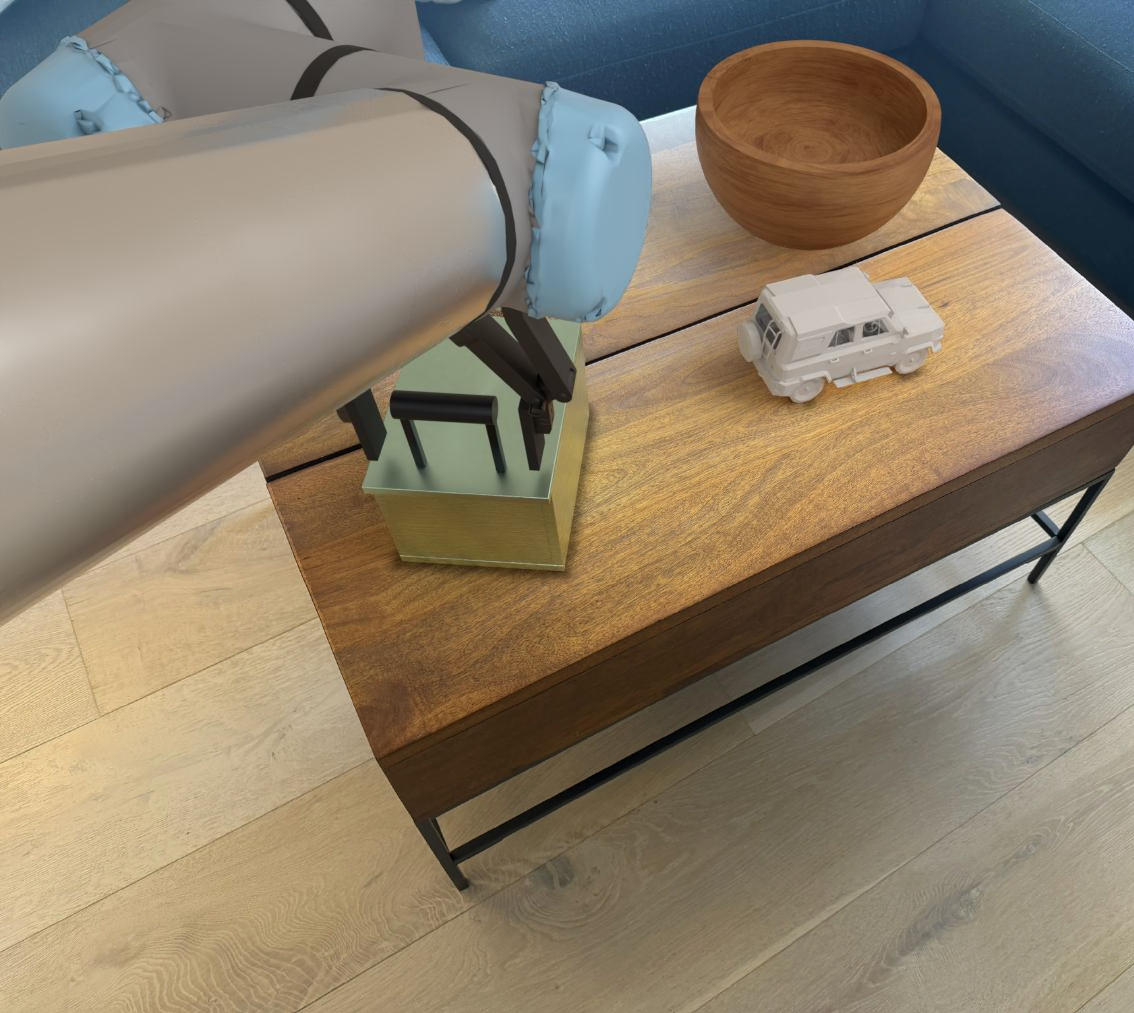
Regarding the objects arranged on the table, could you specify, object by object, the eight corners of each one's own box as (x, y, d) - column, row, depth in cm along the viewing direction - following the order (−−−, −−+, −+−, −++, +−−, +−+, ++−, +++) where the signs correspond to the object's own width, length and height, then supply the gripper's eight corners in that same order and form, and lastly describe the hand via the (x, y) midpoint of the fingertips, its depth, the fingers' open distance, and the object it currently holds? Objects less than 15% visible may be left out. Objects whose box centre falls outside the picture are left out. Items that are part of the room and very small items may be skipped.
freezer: (564, 571, 75) (551, 494, 66) (401, 561, 76) (367, 483, 67) (589, 413, 86) (581, 328, 77) (446, 405, 86) (422, 319, 77)
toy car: (947, 372, 90) (976, 294, 81) (764, 424, 85) (775, 347, 77) (897, 307, 95) (920, 228, 87) (723, 352, 91) (730, 274, 83)
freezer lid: (549, 505, 66) (537, 431, 59) (364, 493, 66) (330, 419, 59) (581, 328, 77) (574, 248, 70) (422, 319, 77) (399, 239, 70)
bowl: (675, 170, 109) (677, 46, 97) (873, 154, 111) (900, 31, 99) (713, 309, 94) (721, 184, 82) (939, 287, 97) (980, 163, 85)
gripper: (609, 160, 50) (622, 422, 67) (191, 138, 50) (314, 403, 68) (593, 246, 45) (612, 502, 63) (135, 222, 46) (282, 482, 64)
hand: (457, 451), depth 65 cm, fingers open, 11 cm apart
